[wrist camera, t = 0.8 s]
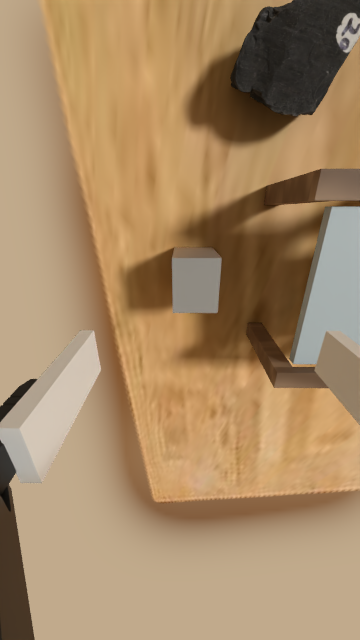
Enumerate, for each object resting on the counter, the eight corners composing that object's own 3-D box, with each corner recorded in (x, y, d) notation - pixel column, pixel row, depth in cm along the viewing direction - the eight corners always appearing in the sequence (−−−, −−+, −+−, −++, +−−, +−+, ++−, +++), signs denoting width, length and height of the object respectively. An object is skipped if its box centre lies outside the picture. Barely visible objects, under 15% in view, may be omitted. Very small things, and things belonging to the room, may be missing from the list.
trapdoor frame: (266, 185, 28) (321, 168, 17) (394, 185, 27) (534, 168, 16) (246, 334, 36) (274, 387, 25) (344, 334, 36) (414, 388, 25)
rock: (278, -36, 20) (309, -118, 15) (357, 23, 22) (409, -34, 17) (221, 102, 25) (231, 74, 19) (290, 144, 26) (316, 128, 21)
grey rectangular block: (174, 247, 31) (171, 258, 23) (212, 247, 31) (221, 258, 23) (175, 290, 33) (172, 312, 26) (210, 290, 33) (217, 312, 26)
